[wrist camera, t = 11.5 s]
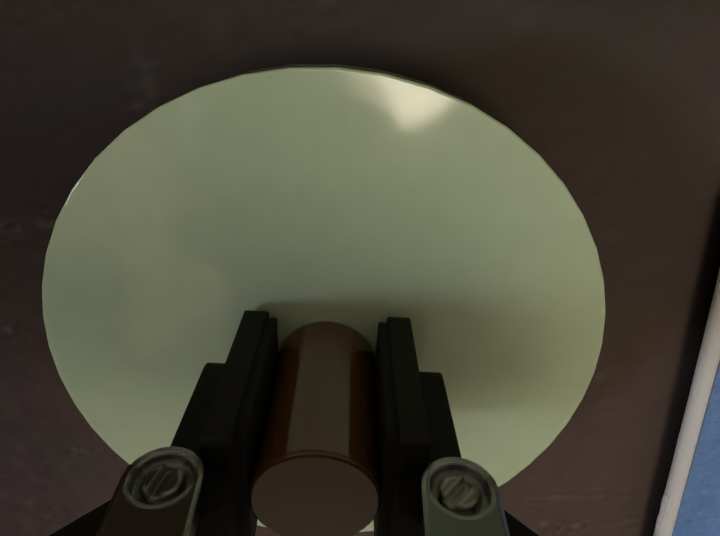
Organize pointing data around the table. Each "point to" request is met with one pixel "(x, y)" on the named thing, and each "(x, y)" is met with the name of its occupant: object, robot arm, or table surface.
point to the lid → (324, 277)
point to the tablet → (697, 447)
